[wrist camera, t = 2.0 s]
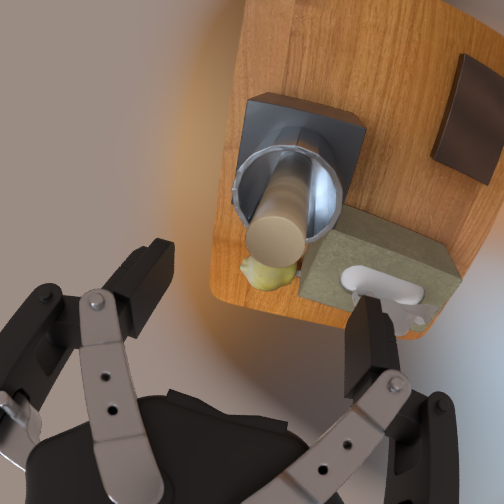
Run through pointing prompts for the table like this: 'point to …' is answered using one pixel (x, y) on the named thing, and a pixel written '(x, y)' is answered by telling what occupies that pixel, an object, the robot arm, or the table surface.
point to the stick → (282, 214)
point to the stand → (311, 117)
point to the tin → (263, 165)
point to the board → (472, 121)
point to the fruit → (268, 274)
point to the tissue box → (379, 270)
